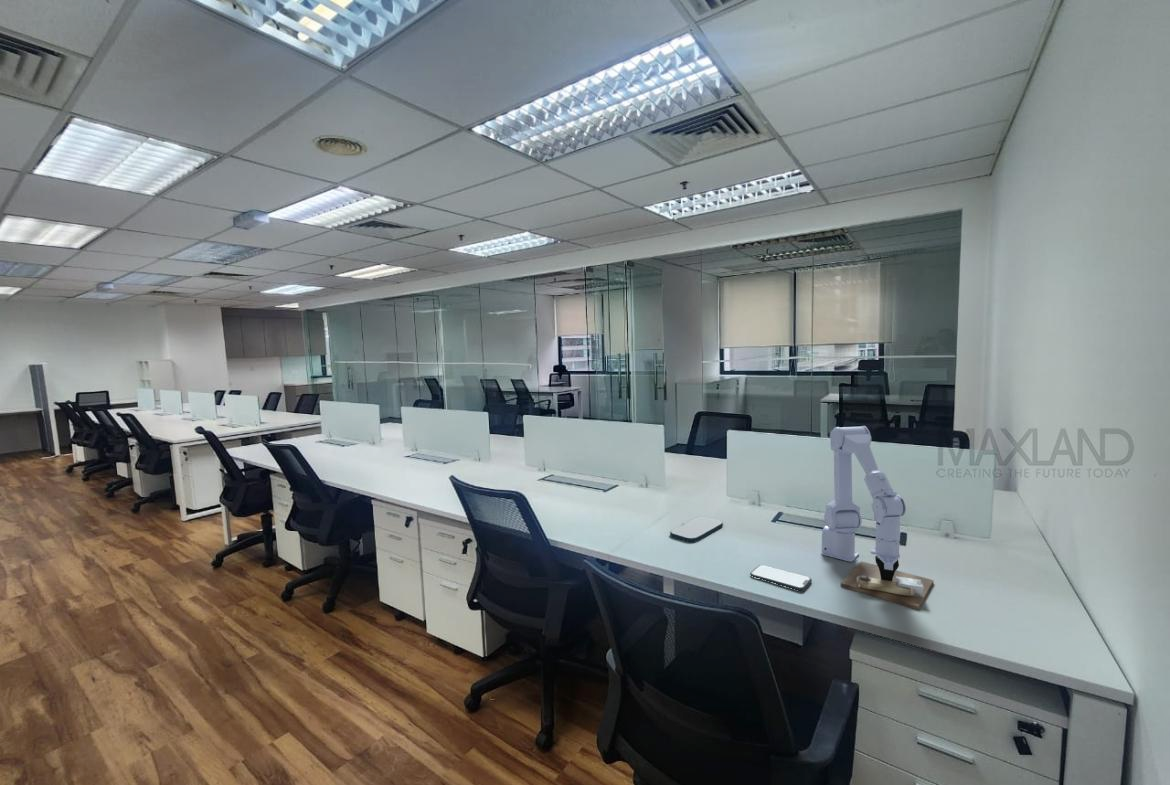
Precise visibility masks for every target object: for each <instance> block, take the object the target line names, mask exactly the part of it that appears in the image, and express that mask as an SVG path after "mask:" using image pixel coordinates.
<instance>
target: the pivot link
mask: <svg viewBox="0 0 1170 785" xmlns="http://www.w3.org/2000/svg"><path fill="white" fill-rule="evenodd" d="M857 586H858V587H861V588H864V589H872V590H878V591H884V592H889V593H895V594H900V595H906V596H911V588H907V587H901V586H898V584H897V582H893V581H887V580H881V579H875V578H869V577H867V576H863V575H861V576H858V577H857Z"/></svg>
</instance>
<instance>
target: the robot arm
mask: <svg viewBox="0 0 1170 785" xmlns="http://www.w3.org/2000/svg"><path fill="white" fill-rule="evenodd" d="M829 436H830V438H829V439H830V451H833V475H834V476H833V481H834V482H833V484H834V485H833V486H834V488H833V489H834V490H833V492H834V499H832V500H831V501H829V503H826V505H825V512H824V514H823V515H824V516H823V517H824V518H823V519H824V523H825V525H824V527H823V529H822V534H821V552H820V554H821V555H823V556H826V557H830V558H834V559H837V560H838V559H839V560H841V561H845V562H850V563H851V562H853V561H854V560H855V559H856V558H857V557H858V556H859V555H860V554H859V552H858V551H857V552H856V551H855V548H856V546H855V545H856V542H855V541H856V532H858V529H859V528H860V527H861V526H862V523H863V518H862V515H861V510H860V506H859V505H858V504H857V503H855V502H853V480H852V479H853V476H852V475H853V473H852V470H853V467H852V466H853V464H852V463H853V462H852V454H854V456H855V457H856V459H857V461H858V462H859V464H860V466H861V468H862V470H863V472H864V473H865V476H864V479H863V480H864V482H865V485H866V487H867V489H868V491H869V493H870V496H871V498H872V503H871V508H872V512H873V518H874V521H875V548H874V549H873V548H871V549H870V554H871V555H875V556H874V557H875V558H874V560H875V563H876V564H875V565H877V566H878V568H879V571H880V576H881V580H887V581H892V580H893V576H894V573H895V571H896V570H897V571H898V568H899V566H900V563H899V559H900V558H901V555H900V536H901V535H900V533H901V532H900V531H901V517H903V516H904V515H905V514H906V509H907V508H906V503H905V500H904V499H903V497H902V496H901V495H900V494H898V492H896V491H894V489H893V487H892V485H891V483H890V481H889V480H888V479H889V478H888V476H887V475H886V473H885V472H883V471H880V469H879V467H878V465H877V461H876V459H875V457H874V454H873V451H872V448H871V445H872V444H871V443H872V436H871V432H870V430H869V429H868V427H867V426H866V425H861V426H843V427H840V426H836V427H834V428H833V429H832V430H831V431H830V434H829Z"/></svg>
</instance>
